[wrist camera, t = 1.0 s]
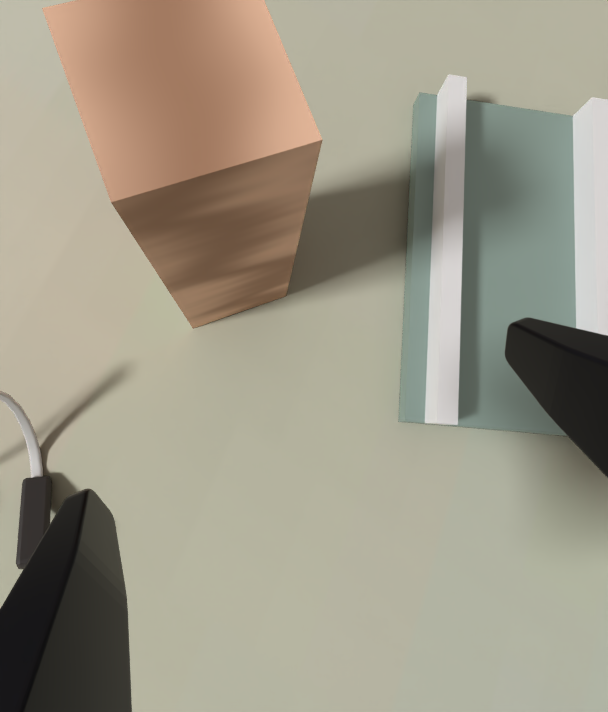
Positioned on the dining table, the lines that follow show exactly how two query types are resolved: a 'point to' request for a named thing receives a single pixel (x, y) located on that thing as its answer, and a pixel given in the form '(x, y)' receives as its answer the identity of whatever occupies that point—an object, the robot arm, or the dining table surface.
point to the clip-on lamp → (31, 491)
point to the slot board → (497, 251)
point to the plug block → (195, 140)
